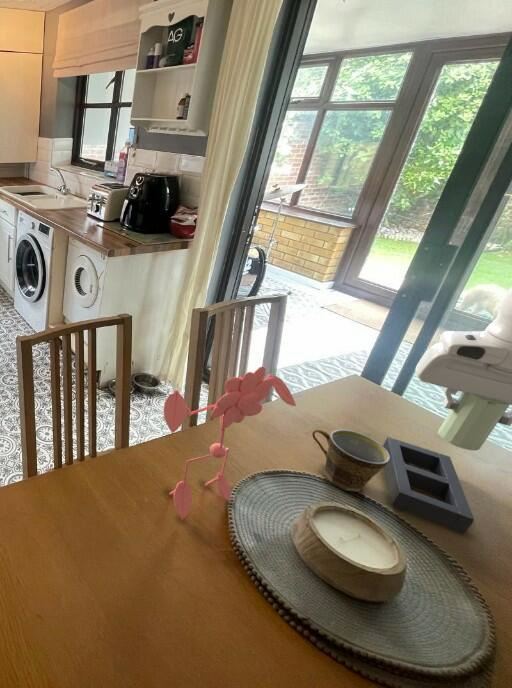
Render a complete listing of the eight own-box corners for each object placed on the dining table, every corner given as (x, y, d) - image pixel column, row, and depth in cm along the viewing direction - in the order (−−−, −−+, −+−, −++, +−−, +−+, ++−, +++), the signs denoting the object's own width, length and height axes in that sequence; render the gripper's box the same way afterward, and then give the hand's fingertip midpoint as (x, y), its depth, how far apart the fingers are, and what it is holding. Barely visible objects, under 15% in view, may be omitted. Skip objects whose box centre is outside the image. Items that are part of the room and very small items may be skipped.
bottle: (475, 437, 81) (517, 374, 74) (484, 455, 77) (529, 390, 70) (435, 425, 84) (472, 363, 77) (441, 441, 80) (481, 378, 73)
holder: (441, 469, 94) (449, 456, 93) (464, 533, 80) (474, 519, 78) (380, 449, 100) (387, 436, 98) (391, 505, 85) (399, 492, 84)
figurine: (133, 499, 86) (162, 359, 71) (233, 474, 93) (279, 340, 78) (180, 570, 73) (228, 415, 58) (293, 535, 79) (363, 387, 64)
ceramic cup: (376, 482, 91) (395, 448, 87) (364, 506, 85) (383, 471, 81) (309, 448, 100) (323, 416, 96) (293, 468, 94) (308, 435, 90)
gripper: (598, 364, 69) (550, 428, 75) (432, 329, 79) (401, 387, 85) (618, 382, 64) (565, 449, 70) (439, 342, 75) (406, 403, 81)
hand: (474, 414), depth 78 cm, fingers closed on bottle, 6 cm apart
